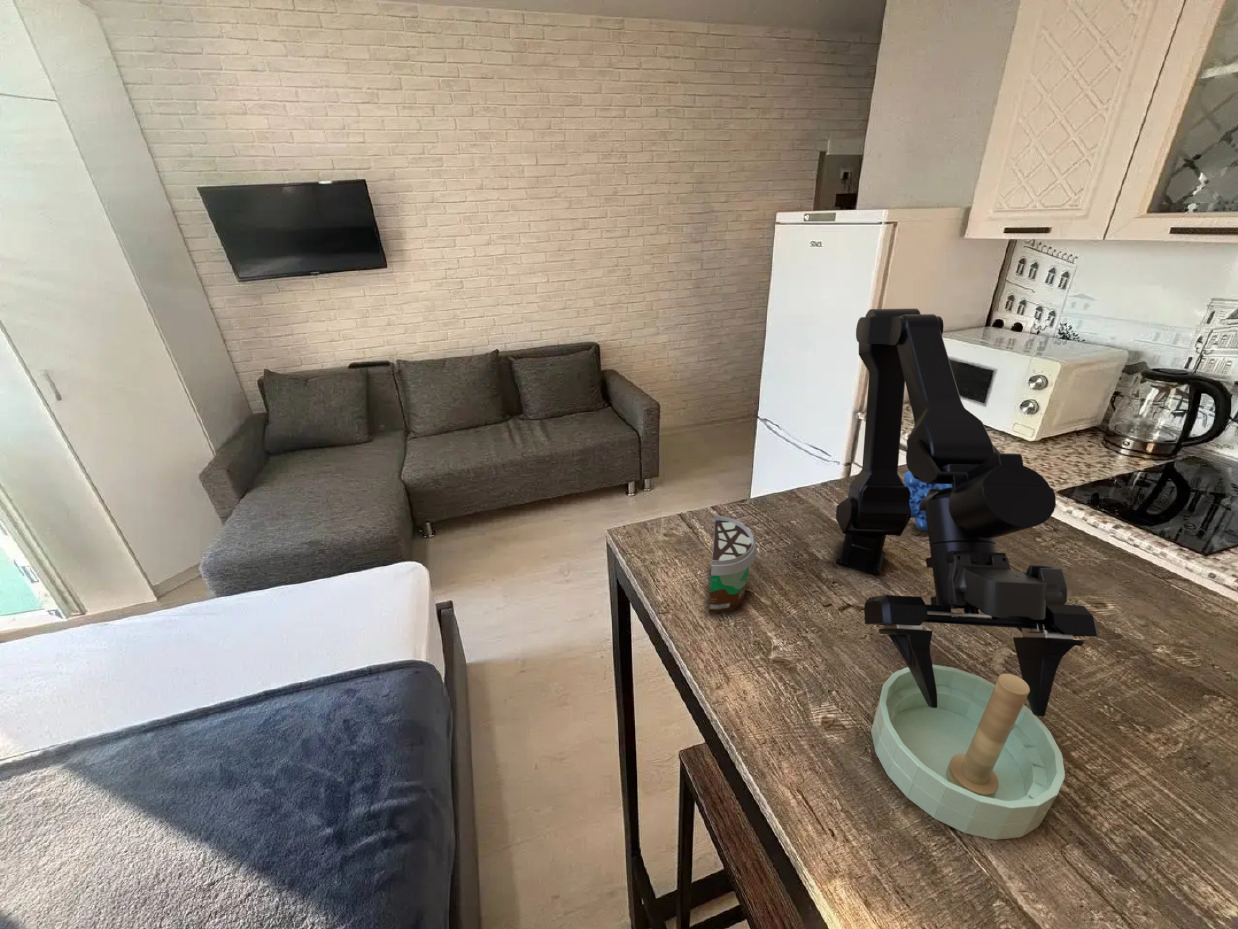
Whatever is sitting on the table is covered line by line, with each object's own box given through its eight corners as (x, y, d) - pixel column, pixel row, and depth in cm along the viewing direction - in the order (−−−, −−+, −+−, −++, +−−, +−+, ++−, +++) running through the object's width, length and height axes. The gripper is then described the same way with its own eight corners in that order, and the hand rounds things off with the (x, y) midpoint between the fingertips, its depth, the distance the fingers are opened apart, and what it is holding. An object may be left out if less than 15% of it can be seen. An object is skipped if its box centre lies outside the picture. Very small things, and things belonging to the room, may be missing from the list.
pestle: (947, 755, 53) (986, 658, 46) (993, 775, 51) (1041, 676, 44) (945, 789, 50) (986, 690, 43) (994, 812, 48) (1045, 711, 41)
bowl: (881, 678, 62) (891, 645, 60) (1037, 737, 55) (1055, 702, 52) (859, 786, 51) (869, 751, 48) (1051, 880, 43) (1075, 844, 41)
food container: (753, 625, 71) (759, 567, 66) (708, 619, 72) (711, 563, 67) (750, 569, 81) (756, 516, 77) (711, 565, 83) (714, 513, 78)
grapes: (881, 530, 89) (895, 470, 84) (891, 513, 94) (905, 455, 89) (958, 554, 83) (979, 490, 77) (965, 535, 87) (985, 473, 82)
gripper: (897, 528, 46) (917, 717, 41) (1128, 536, 44) (1176, 738, 39) (857, 546, 57) (869, 699, 52) (1041, 554, 54) (1071, 715, 50)
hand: (985, 711), depth 48 cm, fingers open, 9 cm apart
